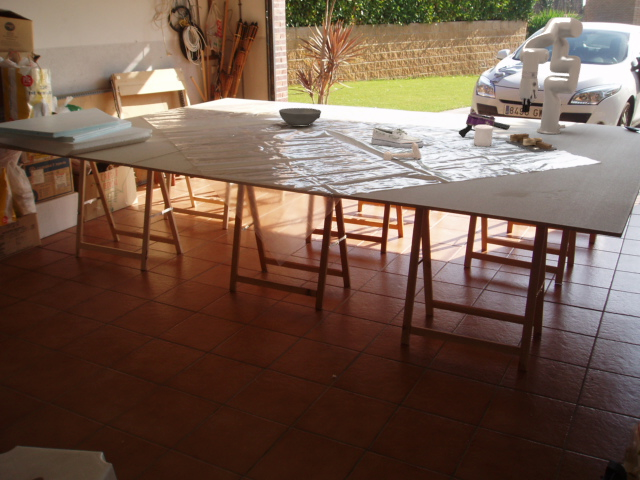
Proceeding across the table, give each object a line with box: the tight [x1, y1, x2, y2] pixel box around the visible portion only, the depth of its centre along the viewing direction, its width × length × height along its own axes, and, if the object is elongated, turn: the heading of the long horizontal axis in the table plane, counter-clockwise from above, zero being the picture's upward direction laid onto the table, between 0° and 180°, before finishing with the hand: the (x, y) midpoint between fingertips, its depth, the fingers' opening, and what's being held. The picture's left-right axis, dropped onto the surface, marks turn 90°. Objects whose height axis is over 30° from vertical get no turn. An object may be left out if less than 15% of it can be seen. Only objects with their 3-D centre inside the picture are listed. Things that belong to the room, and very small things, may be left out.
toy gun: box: [458, 111, 511, 138], centre depth 326 cm, size 3×26×15 cm, turn 78°
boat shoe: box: [371, 127, 425, 149], centre depth 312 cm, size 11×29×10 cm, turn 68°
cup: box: [473, 125, 494, 147], centre depth 309 cm, size 10×10×10 cm
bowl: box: [278, 107, 322, 126], centre depth 370 cm, size 26×26×10 cm
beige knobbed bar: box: [383, 142, 422, 161], centre depth 284 cm, size 4×18×10 cm, turn 91°
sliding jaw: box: [523, 137, 543, 145], centre depth 303 cm, size 10×3×3 cm, turn 106°
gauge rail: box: [509, 133, 553, 149], centre depth 305 cm, size 10×26×5 cm, turn 16°
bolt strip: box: [505, 139, 558, 154], centre depth 305 cm, size 13×26×1 cm, turn 16°
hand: (525, 112), depth 303 cm, fingers closed
